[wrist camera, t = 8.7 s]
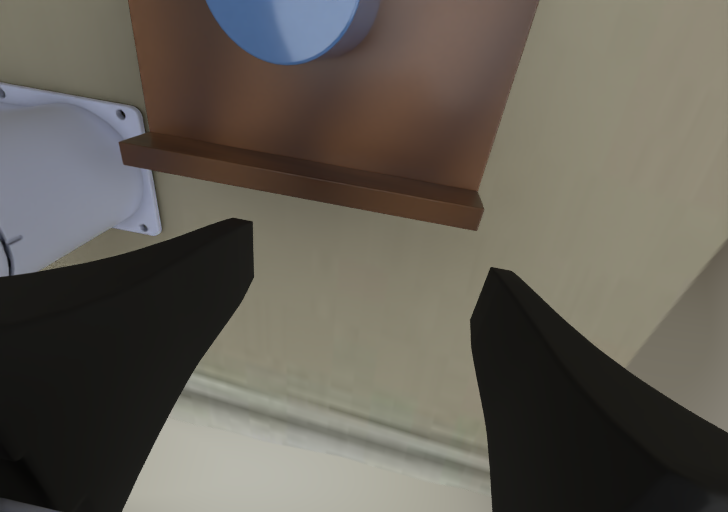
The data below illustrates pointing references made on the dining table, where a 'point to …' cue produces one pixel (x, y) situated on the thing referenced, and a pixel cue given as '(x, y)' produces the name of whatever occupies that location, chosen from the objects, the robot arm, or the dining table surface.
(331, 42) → the blue cup
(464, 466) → the dining table surface
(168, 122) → the shelf
